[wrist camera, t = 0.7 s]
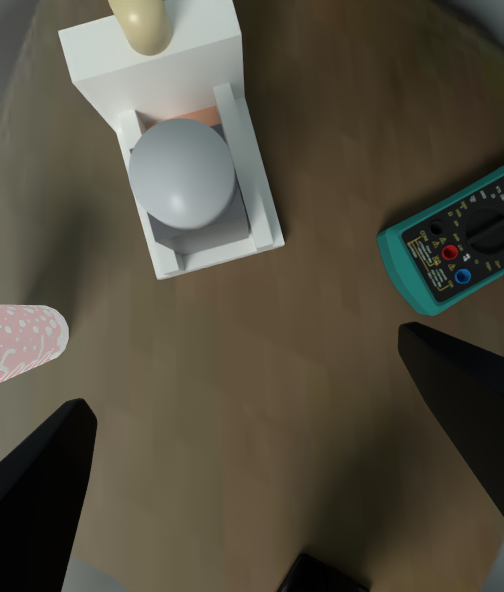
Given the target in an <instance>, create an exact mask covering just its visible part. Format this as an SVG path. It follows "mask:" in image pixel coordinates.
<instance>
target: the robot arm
mask: <svg viewBox="0 0 504 592" xmlns="http://www.w3.org/2000/svg"><path fill="white" fill-rule="evenodd" d="M398 351H399V354H400V356H401V358H402V360H403V362H404V364H405V366H406V368H407V369H408V371H409V373H410V375H411V377H412V379H413V381H414V382H415V384H416V386H417V388H418V390H419V392H420V394H421V395H422V397H423V399H424V401H425V403H426V404H427V406H428V407H429V409H430V410H431V412H432V413H433V415H434V416H435V418H436V419H437V420H438V422H439V423H440V425H441V426H442V428H443V429H444V431H445V432H446V434H447V435H448V436H449V438H450V439H451V441H452V442H453V444H454V445H455V447H456V448H457V450H458V451H459V452H460V454H461V455H462V457H463V458H464V460H465V461H466V463H467V464H468V466H469V467H470V468H471V470H472V471H473V473H474V474H475V476H476V477H477V479H478V480H479V482H480V483H481V484H482V486H483V487H484V489H485V490H486V492H487V493H488V495H489V496H490V498H491V499H492V501H493V502H494V503H495V505H496V506H497V508H498V509H499V511H500V512H501V514H502V515H503V517H504V357H502V356H500V355H497V354H495V353H492V352H490V351H487V350H485V349H482V348H480V347H478V346H475V345H473V344H470V343H468V342H465V341H463V340H460V339H458V338H455V337H453V336H450V335H448V334H445V333H443V332H440V331H438V330H435V329H433V328H430V327H428V326H426V325H423V324H421V323H418V322H409V323H404V324H401V325H400V326H399V330H398ZM96 431H97V418H96V416H95V414H94V413H93V411H92V410H91V408H90V407H89V406H88V404H87V403H86V401H85V400H84V399H82V398H78V399H73V400H69V401H66V402H65V403H64V404H63V405H61V406H60V407H59V408H58V409H57V410H56V411H55V412H54V413H53V414H52V415H51V416H49V417H48V418H47V419H46V420H45V421H44V422H43V423H42V424H41V425H40V426H39V427H37V428H36V429H35V430H34V431H33V432H32V433H31V434H30V435H29V436H28V437H27V438H25V439H24V440H23V441H22V442H21V443H20V444H19V445H18V446H17V447H16V448H15V449H13V450H12V451H11V452H10V453H9V454H8V455H7V456H6V457H5V458H4V459H3V460H1V461H0V592H61V590H62V586H63V582H64V578H65V574H66V570H67V566H68V562H69V558H70V554H71V550H72V546H73V543H74V539H75V535H76V531H77V527H78V523H79V519H80V515H81V511H82V507H83V503H84V499H85V495H86V491H87V486H88V482H89V477H90V471H91V465H92V458H93V451H94V444H95V438H96ZM303 561H307V562H306V563H302V562H303ZM279 592H370V591H369V590H368V589H367V588H366V587H364V586H362V585H360V584H358V583H357V582H356V581H355V580H354V579H352V578H350V577H348V576H347V575H345V574H343V573H341V572H339V571H338V570H336V569H334V568H332V567H331V566H327V565H325V564H323V563H321V562H320V561H318V560H316V559H314V558H313V557H311V556H309V555H307V554H301V555H300V556H299V557H298V559H297V561H296V563H295V564H294V566H293V568H292V569H291V571H290V573H289V575H288V576H287V578H286V580H285V581H284V583H283V585H282V587H281V588H280V590H279Z"/></svg>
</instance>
